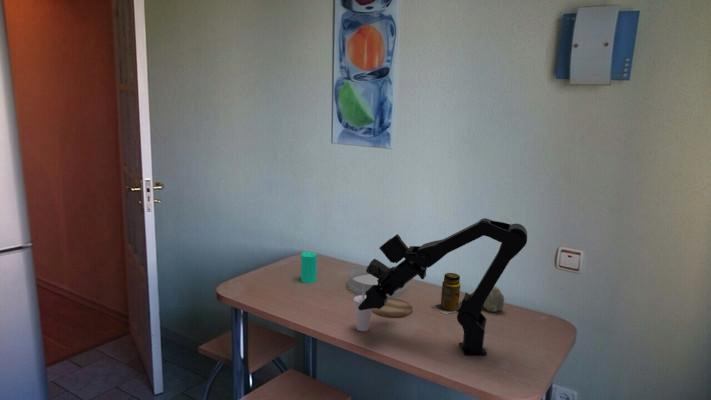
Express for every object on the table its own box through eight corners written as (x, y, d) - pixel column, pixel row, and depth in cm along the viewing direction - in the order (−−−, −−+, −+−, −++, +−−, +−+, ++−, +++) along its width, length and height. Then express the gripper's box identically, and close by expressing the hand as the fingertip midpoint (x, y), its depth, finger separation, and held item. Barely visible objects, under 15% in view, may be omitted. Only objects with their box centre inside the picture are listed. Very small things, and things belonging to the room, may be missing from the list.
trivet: (415, 318, 162) (415, 314, 162) (372, 317, 161) (373, 314, 161) (408, 301, 176) (408, 298, 176) (368, 300, 175) (368, 297, 175)
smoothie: (348, 329, 152) (350, 286, 149) (358, 322, 157) (360, 280, 155) (367, 335, 149) (369, 291, 146) (376, 327, 154) (378, 284, 152)
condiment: (463, 310, 171) (466, 276, 168) (445, 314, 166) (448, 280, 164) (448, 302, 176) (451, 270, 174) (430, 307, 172) (433, 273, 169)
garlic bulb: (500, 320, 169) (510, 298, 164) (476, 314, 169) (485, 292, 165) (497, 301, 177) (506, 280, 173) (474, 296, 178) (482, 274, 173)
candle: (298, 278, 193) (299, 248, 191) (313, 276, 196) (313, 247, 193) (303, 283, 188) (304, 253, 186) (318, 282, 190) (319, 251, 188)
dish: (393, 304, 174) (394, 290, 173) (337, 291, 183) (338, 278, 182) (414, 284, 193) (415, 272, 192) (363, 273, 203) (363, 262, 202)
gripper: (392, 245, 155) (356, 273, 161) (374, 262, 138) (335, 293, 144) (415, 272, 154) (378, 300, 160) (400, 293, 137) (360, 323, 143)
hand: (363, 303), depth 152 cm, fingers open, 9 cm apart
